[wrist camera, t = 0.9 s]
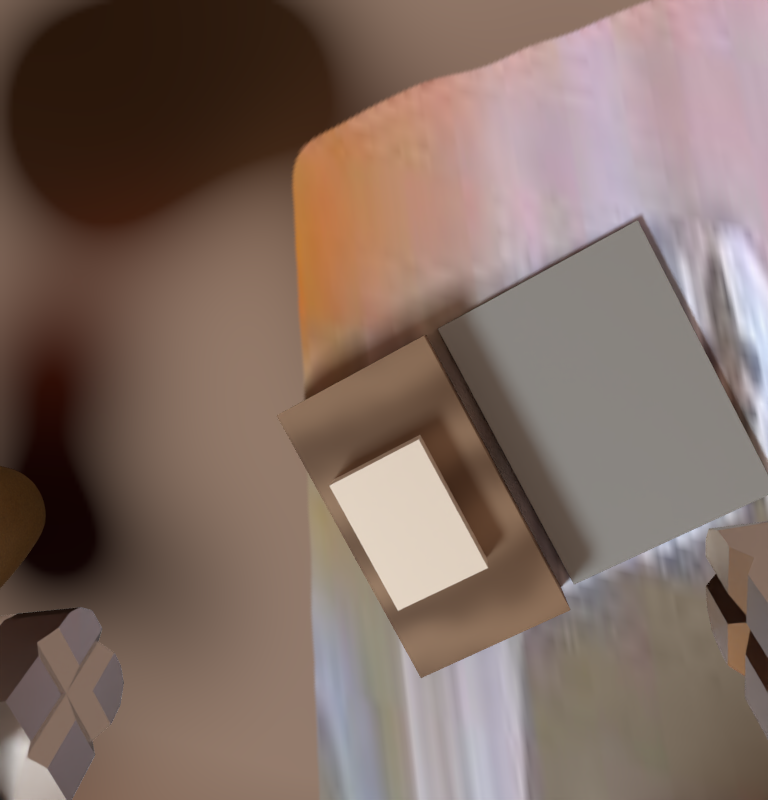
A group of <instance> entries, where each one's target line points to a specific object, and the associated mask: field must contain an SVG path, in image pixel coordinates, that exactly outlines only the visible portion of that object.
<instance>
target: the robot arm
mask: <svg viewBox="0 0 768 800" xmlns="http://www.w3.org/2000/svg"><path fill="white" fill-rule="evenodd" d="M706 558H707V559H708V561H709V563H710V564H711V566H712V568H713V569H714V571H715V573H716V574H715V575H714V576H713V578H712V579H711V580H710V581H709V583H708V584H707V585H706V597H707V610H708V614H709V619H710V624H711V628H712V632H713V634H714V637H715V639H716V642H717V645H718V647H719V649H720V651H721V653H722V655H723V657H724V659H725V661H726V663H727V665H728V666H729V667H731V668H733V669H734V670H736V671H737V672H739V673H740V674H742V675H744V676H745V699H746V700H747V702H748V704H749V706H750V708H751V710H752V711H753V713H754V715H755V717H756V719H757V721H758V722H759V724H760V726H761V728H762V730H763V732H764V733H765V735H766V737H767V739H768V521H765V522H757V523H749V524H742V525H734V526H726V527H719V528H711V529H709V530H708V534H707V537H706ZM101 631H102V627H101V626H100V624H99V622H98V620H97V618H96V617H95V615H94V613H93V611H92V610H89V609H85V608H81V607H77V608H68V609H57V610H47V611H37V612H28V613H18V614H16V615H3V616H0V800H72V798H73V796H74V794H75V792H76V790H77V789H78V787H79V785H80V783H81V781H82V779H83V777H84V775H85V773H86V771H87V769H88V767H89V766H90V764H91V762H92V759H93V758H94V756H95V753H94V747H93V742H92V741H93V740H94V739H95V738H96V737H97V736H98V735H99V734H100V733H102V732H103V731H104V730H105V729H106V728H107V727H109V726H110V725H111V723H112V721H113V719H114V717H115V715H116V713H117V711H118V709H119V707H120V703H121V697H122V691H123V684H124V682H123V677H122V670H121V665H120V663H119V661H118V659H117V657H116V655H115V653H114V652H113V651H111V650H109V649H108V648H107V647H105V646H104V645H102V644H101V643H99V642H98V641H99V638H100V634H101Z"/></svg>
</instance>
